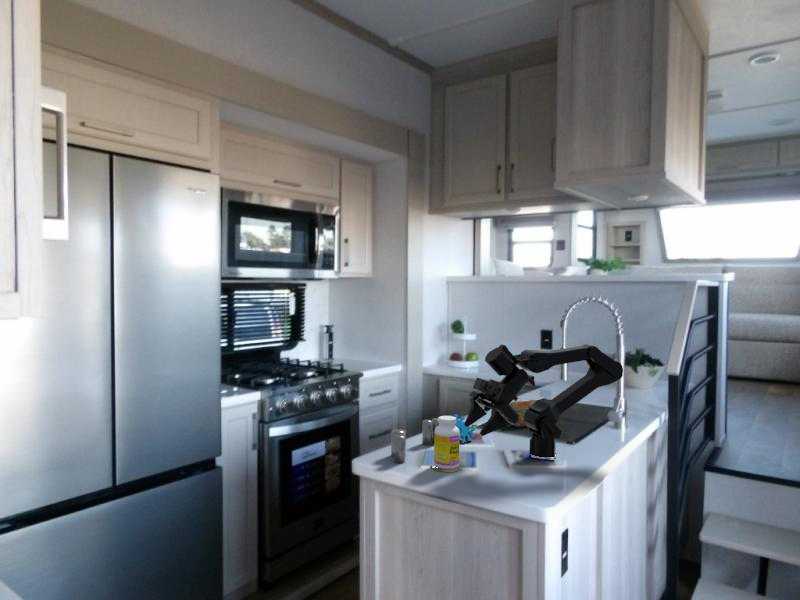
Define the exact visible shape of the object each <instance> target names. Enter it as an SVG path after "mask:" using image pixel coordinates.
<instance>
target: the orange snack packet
mask: <svg viewBox="0 0 800 600" xmlns="http://www.w3.org/2000/svg"><path fill="white" fill-rule="evenodd" d="M537 400H538V399H525V400H517V401H512V402H511V403H510V404H509V405H510V406H511V407H512V408H513V409H514V410H515V411H516V412H517V414H518V415H519V420H518V421H517V422H516V424H515V425H513V424H511V423H510V424H511V426H514V427H517V428H519V427H527V426H526V424H525V422H524V413H525V411H526V410H527V409H529V408H528V406H531V405H533V404H534V403H535V402H536V401H537Z"/></svg>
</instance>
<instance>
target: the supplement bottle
mask: <svg viewBox="0 0 800 600" xmlns="http://www.w3.org/2000/svg"><path fill="white" fill-rule="evenodd" d="M453 416H454V415H452V416H450V415H441V416H438V418H439V419H438V422H439V426H437V427H436V428H435V434H434V443H433V444H434V445H433V463H434V465H435V466H436V467H438V468H441V469H454V468H456V467H458V465H459V464H460V442H461V440H460V438H461V437H460V431H459V429H458V428H457V427H456V426H455V424H456V417H453Z"/></svg>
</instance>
